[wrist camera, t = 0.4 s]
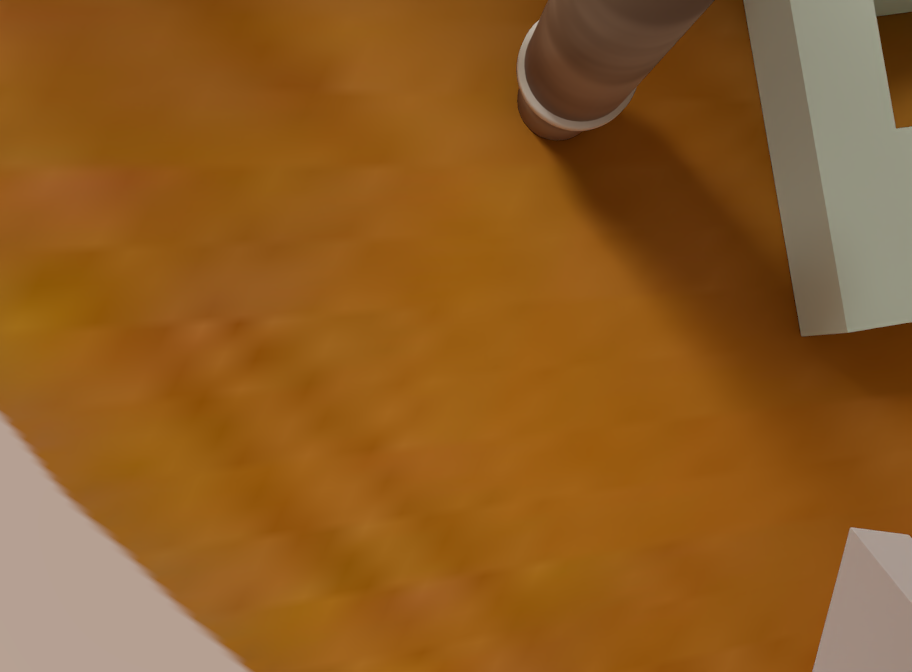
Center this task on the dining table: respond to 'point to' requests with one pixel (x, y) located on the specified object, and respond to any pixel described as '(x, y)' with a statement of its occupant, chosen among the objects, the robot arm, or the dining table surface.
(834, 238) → the board
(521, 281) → the dining table surface
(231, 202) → the dining table surface
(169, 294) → the dining table surface
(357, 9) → the dining table surface
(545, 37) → the peg
